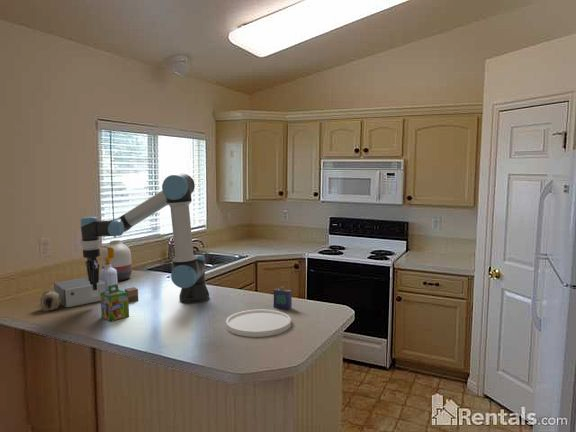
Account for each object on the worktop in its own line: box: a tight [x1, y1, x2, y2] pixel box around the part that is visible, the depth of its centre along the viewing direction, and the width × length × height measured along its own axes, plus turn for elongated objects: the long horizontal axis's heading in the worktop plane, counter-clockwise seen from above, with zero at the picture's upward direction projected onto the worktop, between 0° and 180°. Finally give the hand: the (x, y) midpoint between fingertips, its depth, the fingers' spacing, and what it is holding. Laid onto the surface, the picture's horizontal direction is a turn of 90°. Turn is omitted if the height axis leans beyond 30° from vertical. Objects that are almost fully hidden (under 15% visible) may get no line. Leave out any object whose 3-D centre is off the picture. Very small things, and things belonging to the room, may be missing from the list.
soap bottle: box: [99, 246, 119, 292], centre depth 246 cm, size 9×9×25 cm
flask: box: [273, 286, 293, 310], centre depth 211 cm, size 9×3×11 cm, turn 68°
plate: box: [225, 308, 292, 338], centre depth 189 cm, size 28×28×2 cm
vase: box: [100, 239, 133, 282], centre depth 269 cm, size 17×17×24 cm
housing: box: [53, 276, 106, 308], centre depth 228 cm, size 18×20×9 cm
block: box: [124, 286, 139, 303], centre depth 225 cm, size 5×5×6 cm
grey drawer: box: [65, 283, 107, 308], centre depth 227 cm, size 18×19×9 cm
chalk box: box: [100, 284, 130, 322], centre depth 200 cm, size 9×9×15 cm
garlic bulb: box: [39, 289, 61, 312], centre depth 212 cm, size 9×8×10 cm
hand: (94, 296), depth 215 cm, fingers closed
